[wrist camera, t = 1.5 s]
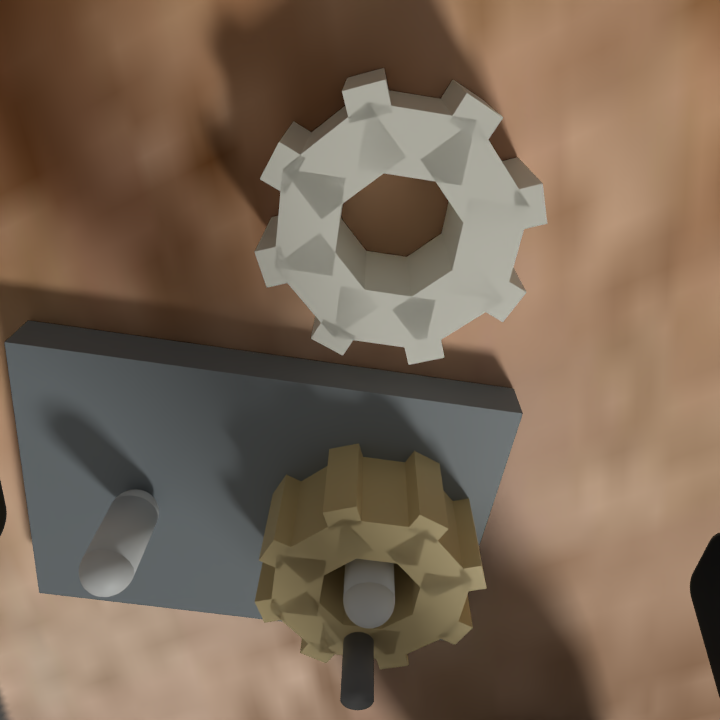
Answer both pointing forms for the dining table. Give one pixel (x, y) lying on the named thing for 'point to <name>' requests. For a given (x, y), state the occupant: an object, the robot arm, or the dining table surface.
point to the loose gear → (430, 262)
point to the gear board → (259, 488)
